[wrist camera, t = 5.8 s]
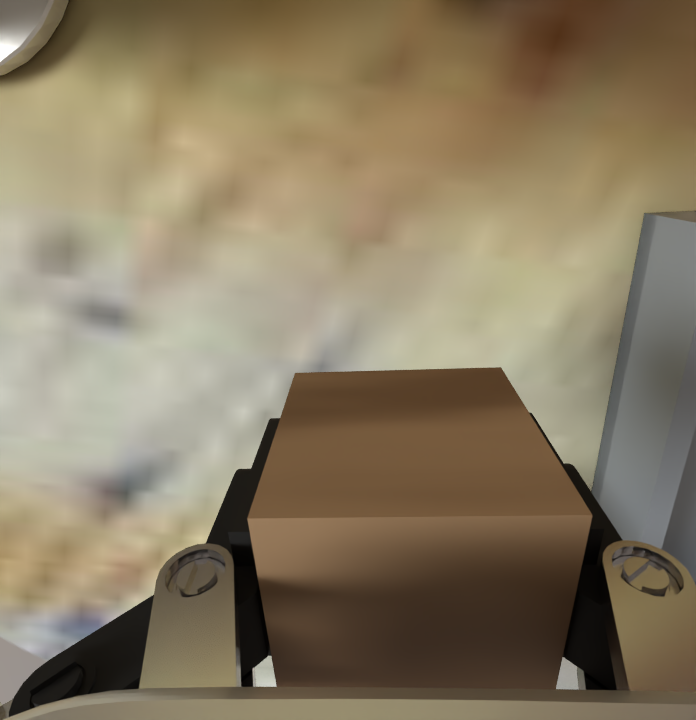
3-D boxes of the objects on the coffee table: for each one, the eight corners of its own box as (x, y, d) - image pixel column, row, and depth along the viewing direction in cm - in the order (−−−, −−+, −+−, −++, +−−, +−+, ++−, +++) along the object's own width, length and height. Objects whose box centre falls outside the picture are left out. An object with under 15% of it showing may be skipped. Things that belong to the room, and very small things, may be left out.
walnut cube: (295, 372, 11) (247, 518, 7) (500, 367, 11) (592, 514, 7) (311, 528, 14) (282, 719, 9) (485, 526, 13) (548, 723, 9)
